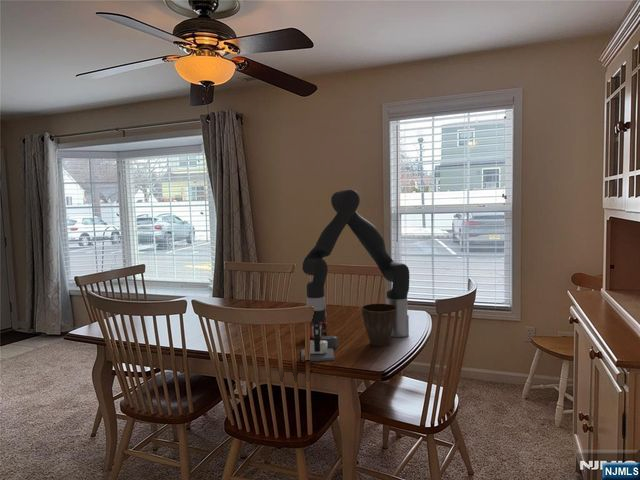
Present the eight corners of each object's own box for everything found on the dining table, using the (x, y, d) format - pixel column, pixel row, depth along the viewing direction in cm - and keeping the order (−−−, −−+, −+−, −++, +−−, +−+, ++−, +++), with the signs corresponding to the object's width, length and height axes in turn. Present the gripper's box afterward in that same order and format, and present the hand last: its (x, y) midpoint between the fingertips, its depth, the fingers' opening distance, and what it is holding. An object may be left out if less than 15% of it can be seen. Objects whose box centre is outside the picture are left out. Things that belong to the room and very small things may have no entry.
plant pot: (374, 336, 204) (373, 301, 203) (403, 342, 195) (403, 306, 193) (355, 345, 193) (354, 308, 191) (385, 351, 183) (384, 313, 182)
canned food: (313, 340, 201) (312, 316, 200) (308, 335, 208) (308, 312, 207) (329, 338, 203) (328, 315, 202) (324, 333, 210) (324, 310, 209)
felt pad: (333, 350, 187) (332, 348, 187) (334, 360, 176) (334, 357, 176) (301, 351, 186) (301, 349, 186) (301, 361, 175) (301, 358, 175)
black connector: (337, 345, 193) (337, 335, 193) (338, 348, 190) (337, 338, 189) (316, 346, 193) (316, 336, 193) (316, 348, 190) (316, 339, 189)
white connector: (327, 350, 183) (327, 340, 182) (327, 353, 179) (327, 343, 179) (304, 350, 183) (305, 340, 182) (304, 353, 179) (304, 343, 179)
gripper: (326, 311, 172) (327, 355, 174) (324, 303, 186) (326, 343, 188) (306, 312, 172) (307, 356, 174) (306, 303, 186) (308, 344, 188)
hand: (317, 349), depth 181 cm, fingers closed on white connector, 3 cm apart
